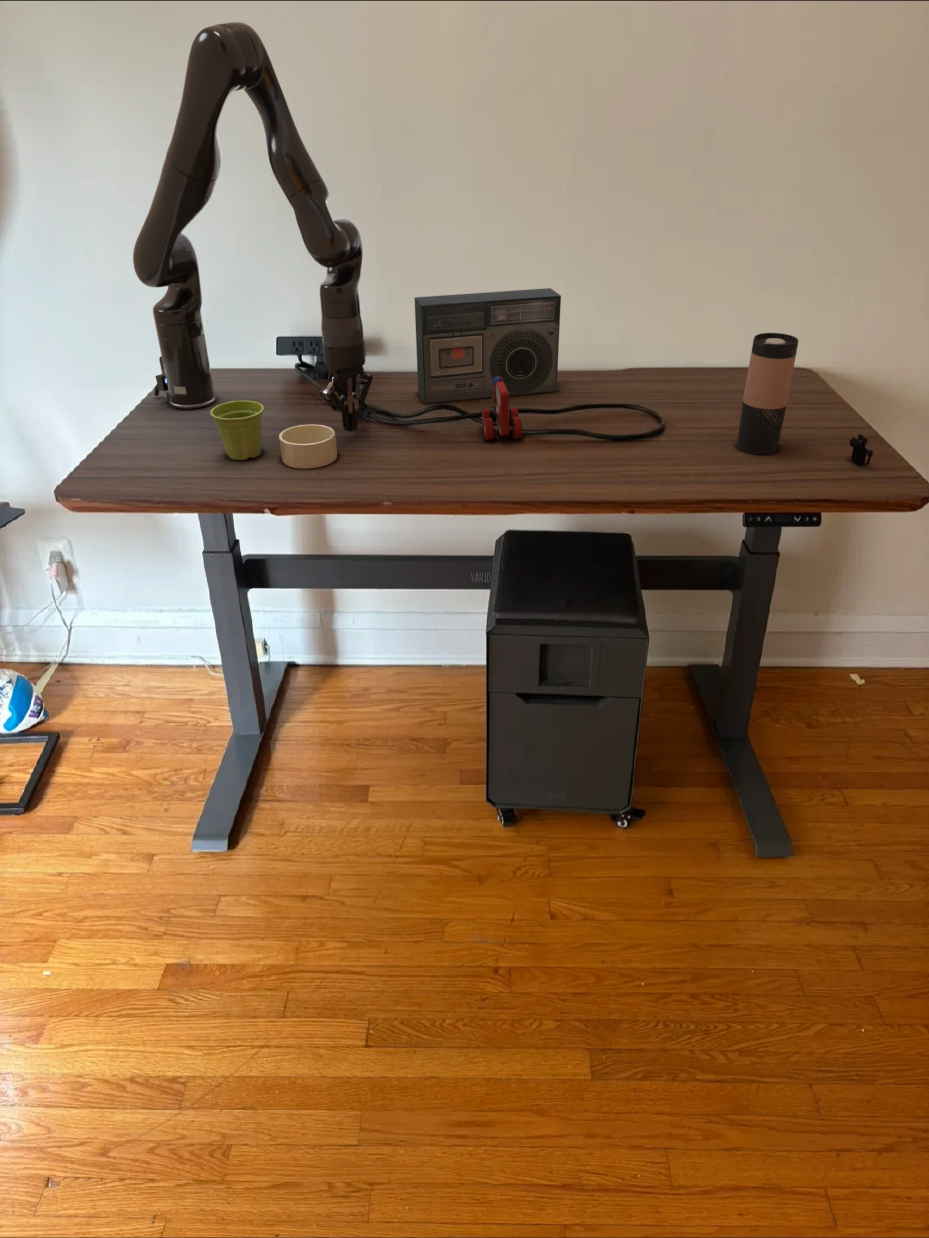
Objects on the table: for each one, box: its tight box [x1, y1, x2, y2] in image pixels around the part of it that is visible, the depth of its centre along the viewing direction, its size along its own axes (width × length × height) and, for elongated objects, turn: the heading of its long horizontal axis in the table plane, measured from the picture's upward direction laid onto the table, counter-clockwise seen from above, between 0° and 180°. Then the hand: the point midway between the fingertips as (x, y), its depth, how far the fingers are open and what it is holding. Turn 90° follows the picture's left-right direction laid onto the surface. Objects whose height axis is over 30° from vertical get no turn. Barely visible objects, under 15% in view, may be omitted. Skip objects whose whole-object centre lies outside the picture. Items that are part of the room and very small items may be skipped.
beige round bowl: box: [278, 423, 338, 470], centre depth 163 cm, size 10×10×4 cm
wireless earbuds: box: [849, 433, 874, 466], centre depth 158 cm, size 7×2×5 cm, turn 8°
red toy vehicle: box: [481, 376, 523, 441], centre depth 171 cm, size 7×12×10 cm, turn 4°
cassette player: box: [414, 287, 562, 405], centre depth 188 cm, size 29×7×20 cm, turn 104°
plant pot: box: [209, 400, 265, 461], centre depth 164 cm, size 9×9×9 cm
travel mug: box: [736, 332, 799, 455], centre depth 161 cm, size 8×8×20 cm
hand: (350, 429), depth 173 cm, fingers closed
